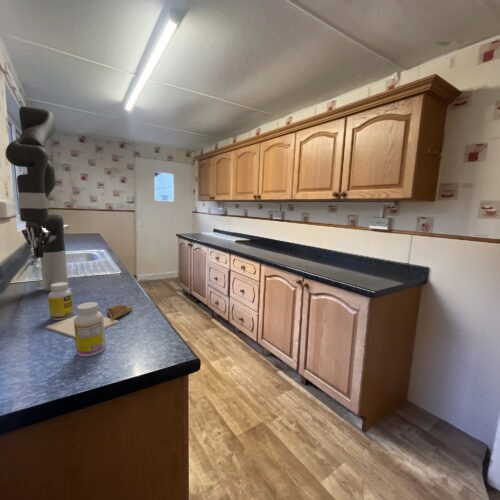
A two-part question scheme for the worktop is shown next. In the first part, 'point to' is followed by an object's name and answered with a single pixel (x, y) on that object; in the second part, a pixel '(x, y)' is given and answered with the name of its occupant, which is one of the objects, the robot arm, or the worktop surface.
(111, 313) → the shard
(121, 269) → the worktop surface
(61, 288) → the pill bottle
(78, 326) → the supplement bottle
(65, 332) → the mat
